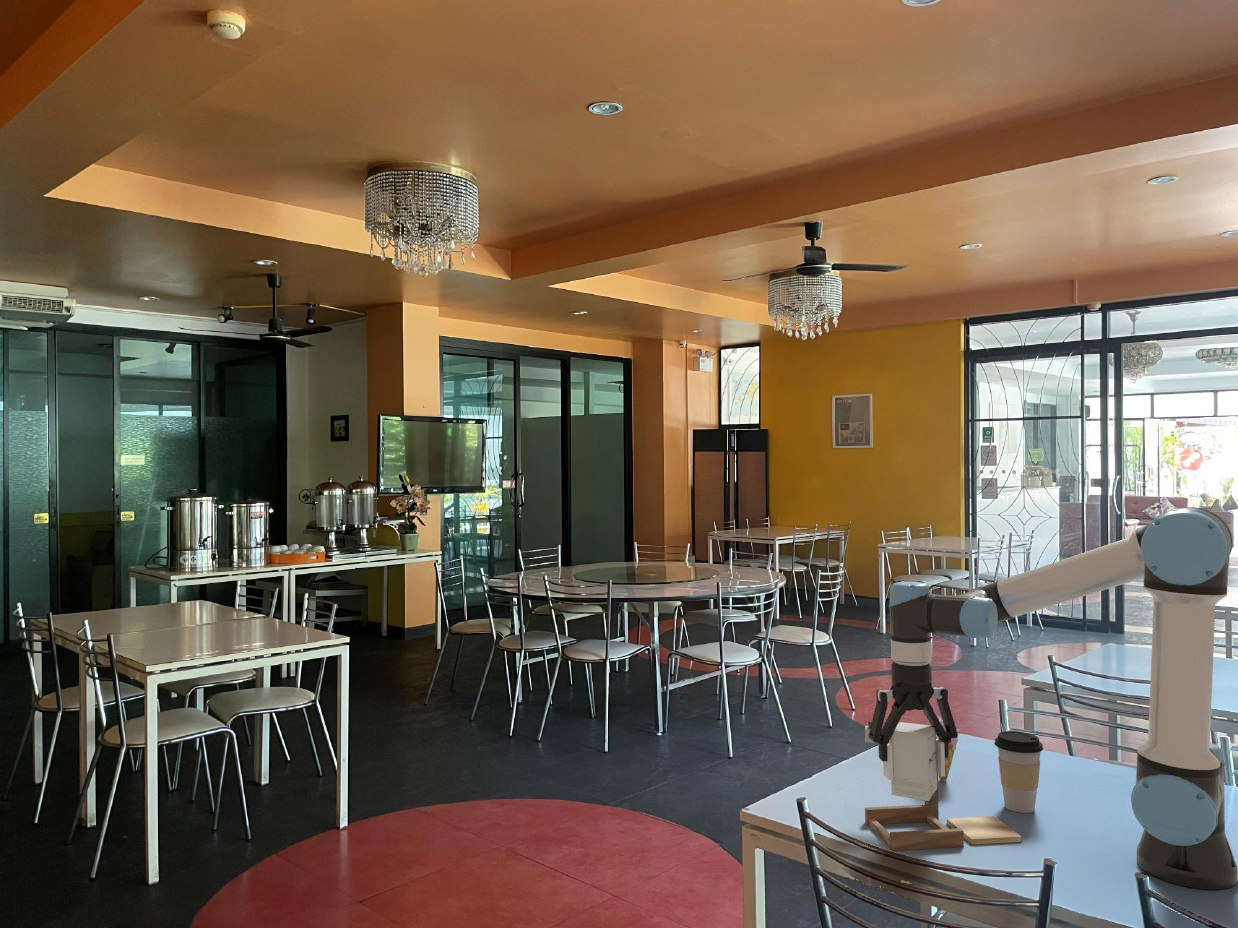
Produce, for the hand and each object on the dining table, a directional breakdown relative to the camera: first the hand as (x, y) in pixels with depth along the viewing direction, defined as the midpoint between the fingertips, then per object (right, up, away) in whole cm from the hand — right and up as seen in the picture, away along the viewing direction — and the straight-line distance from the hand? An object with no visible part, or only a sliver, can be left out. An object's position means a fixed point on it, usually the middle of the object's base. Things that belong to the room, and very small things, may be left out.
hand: (914, 775), depth 173 cm
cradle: (0, -12, +1) cm, 12 cm away
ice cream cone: (+17, -12, +29) cm, 36 cm away
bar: (+1, +3, +10) cm, 11 cm away
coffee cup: (+27, -12, +13) cm, 32 cm away
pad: (+14, -11, +1) cm, 18 cm away
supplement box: (0, -3, 0) cm, 3 cm away
